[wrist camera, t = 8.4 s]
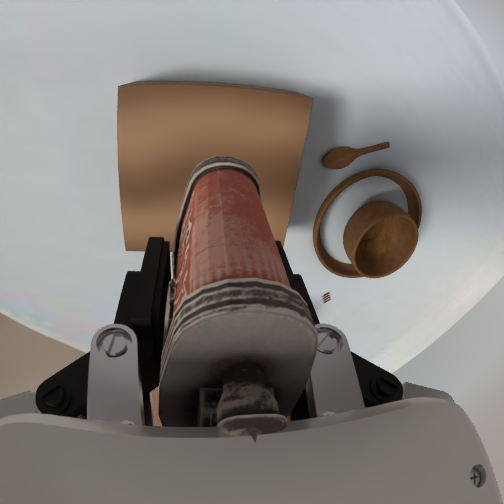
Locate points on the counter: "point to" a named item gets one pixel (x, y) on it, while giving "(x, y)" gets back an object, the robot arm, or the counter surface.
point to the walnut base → (203, 148)
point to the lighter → (231, 312)
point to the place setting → (371, 224)
